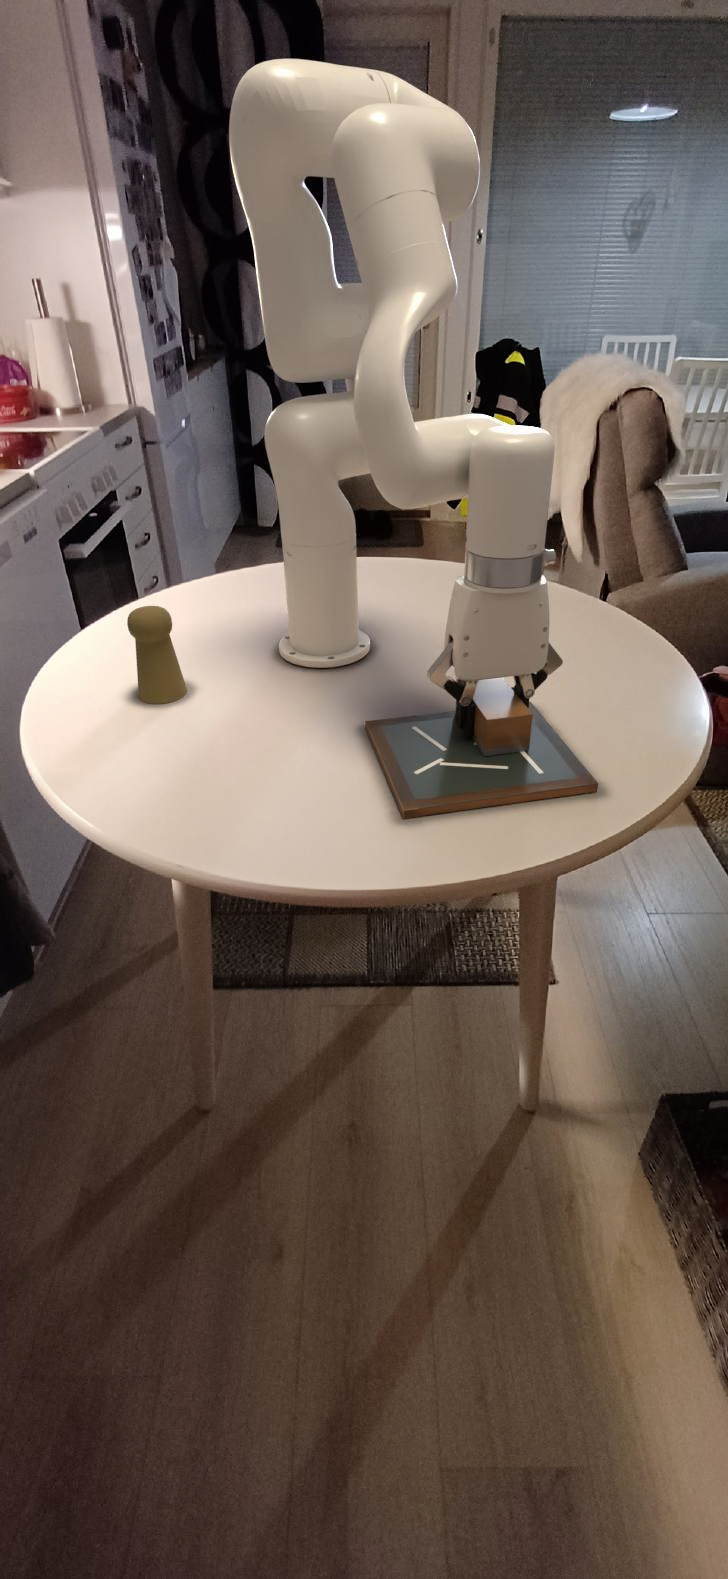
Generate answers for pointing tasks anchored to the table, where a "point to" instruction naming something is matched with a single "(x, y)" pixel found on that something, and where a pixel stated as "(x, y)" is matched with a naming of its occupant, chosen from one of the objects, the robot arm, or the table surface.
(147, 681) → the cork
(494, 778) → the chalkboard
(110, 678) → the table surface
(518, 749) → the eraser
